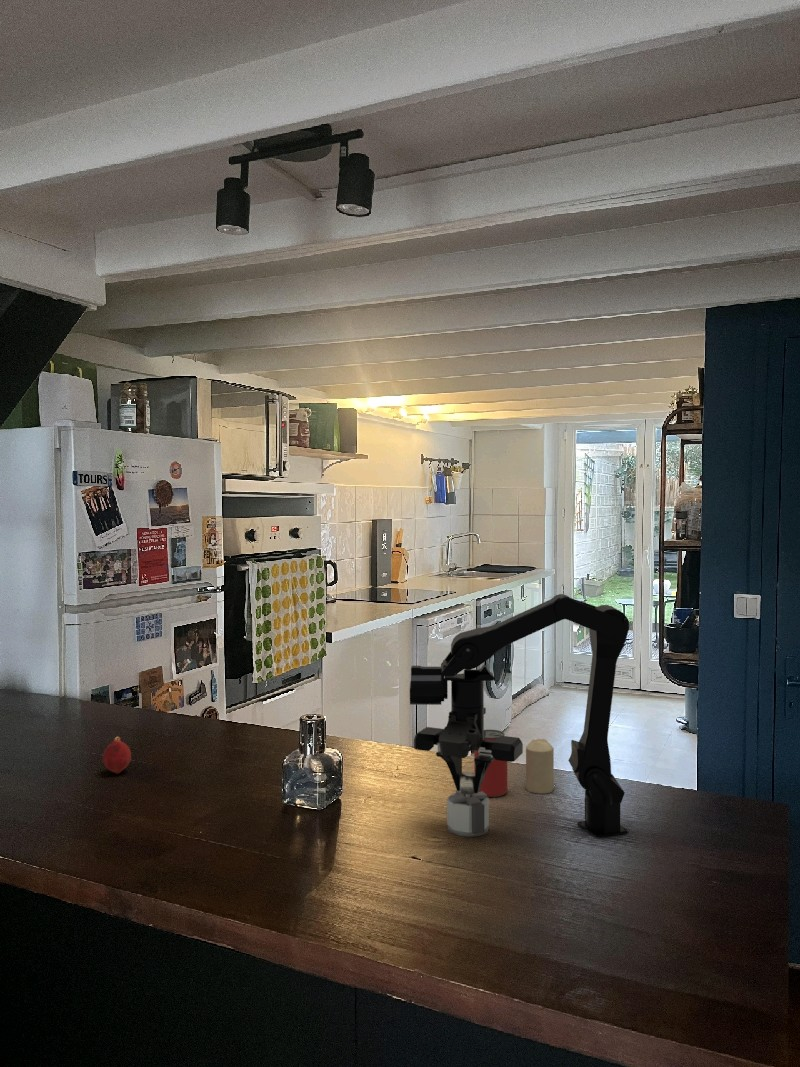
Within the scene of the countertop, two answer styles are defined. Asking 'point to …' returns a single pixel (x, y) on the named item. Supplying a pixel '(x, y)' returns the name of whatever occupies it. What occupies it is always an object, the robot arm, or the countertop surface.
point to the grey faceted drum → (468, 814)
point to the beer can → (494, 771)
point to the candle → (539, 766)
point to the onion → (117, 756)
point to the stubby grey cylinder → (467, 783)
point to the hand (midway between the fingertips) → (467, 791)
